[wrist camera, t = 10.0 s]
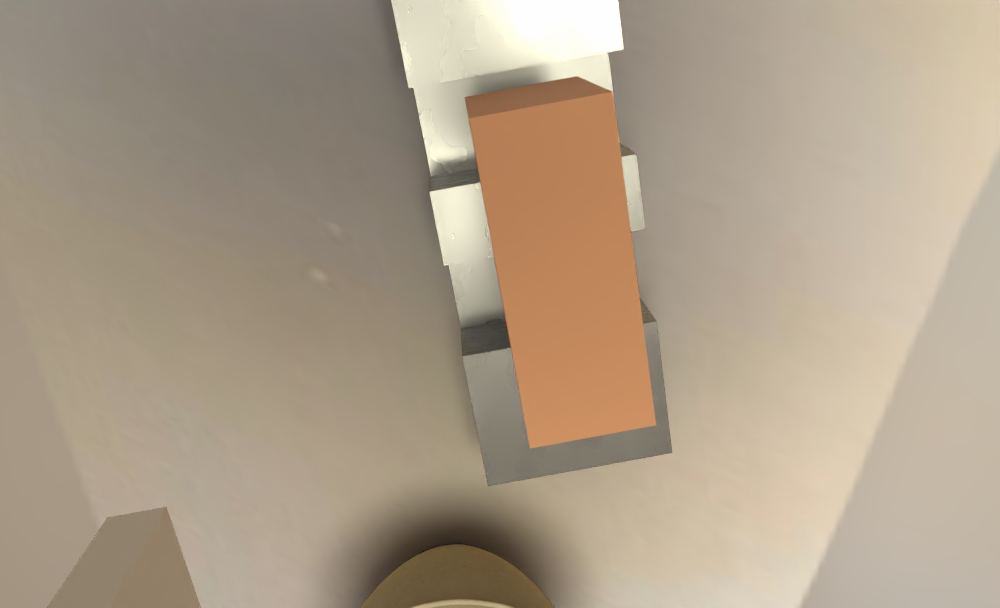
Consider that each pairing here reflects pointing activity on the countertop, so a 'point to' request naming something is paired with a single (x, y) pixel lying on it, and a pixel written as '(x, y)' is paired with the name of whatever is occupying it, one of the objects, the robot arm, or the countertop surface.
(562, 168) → the orange block
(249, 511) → the countertop surface
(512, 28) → the grey block fixture
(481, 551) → the beige planter bowl
